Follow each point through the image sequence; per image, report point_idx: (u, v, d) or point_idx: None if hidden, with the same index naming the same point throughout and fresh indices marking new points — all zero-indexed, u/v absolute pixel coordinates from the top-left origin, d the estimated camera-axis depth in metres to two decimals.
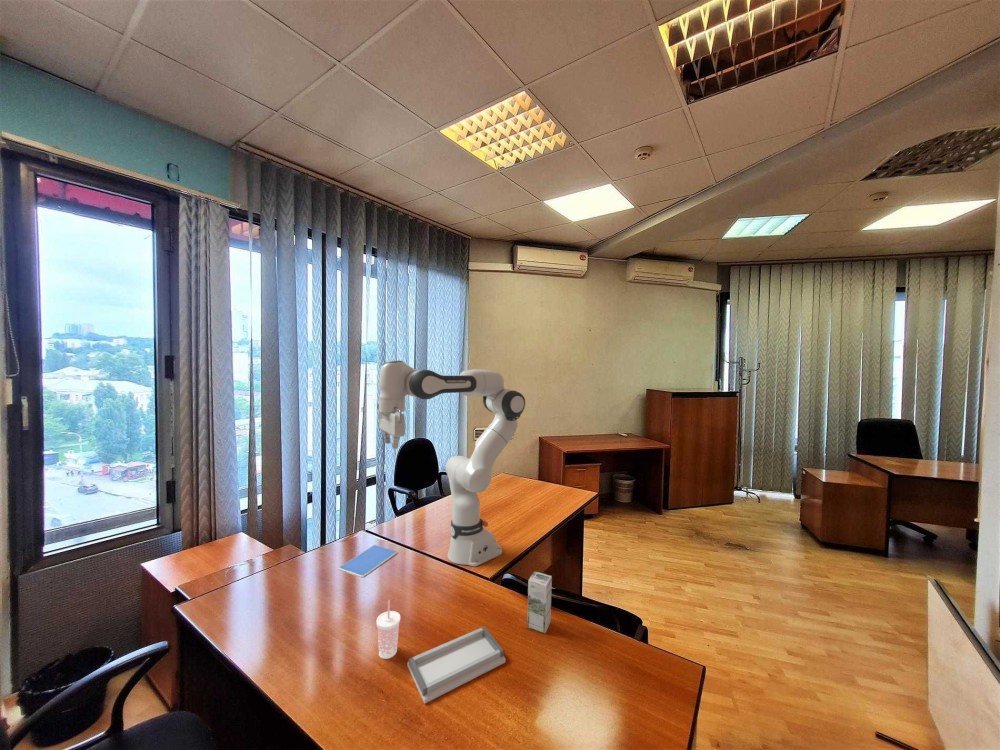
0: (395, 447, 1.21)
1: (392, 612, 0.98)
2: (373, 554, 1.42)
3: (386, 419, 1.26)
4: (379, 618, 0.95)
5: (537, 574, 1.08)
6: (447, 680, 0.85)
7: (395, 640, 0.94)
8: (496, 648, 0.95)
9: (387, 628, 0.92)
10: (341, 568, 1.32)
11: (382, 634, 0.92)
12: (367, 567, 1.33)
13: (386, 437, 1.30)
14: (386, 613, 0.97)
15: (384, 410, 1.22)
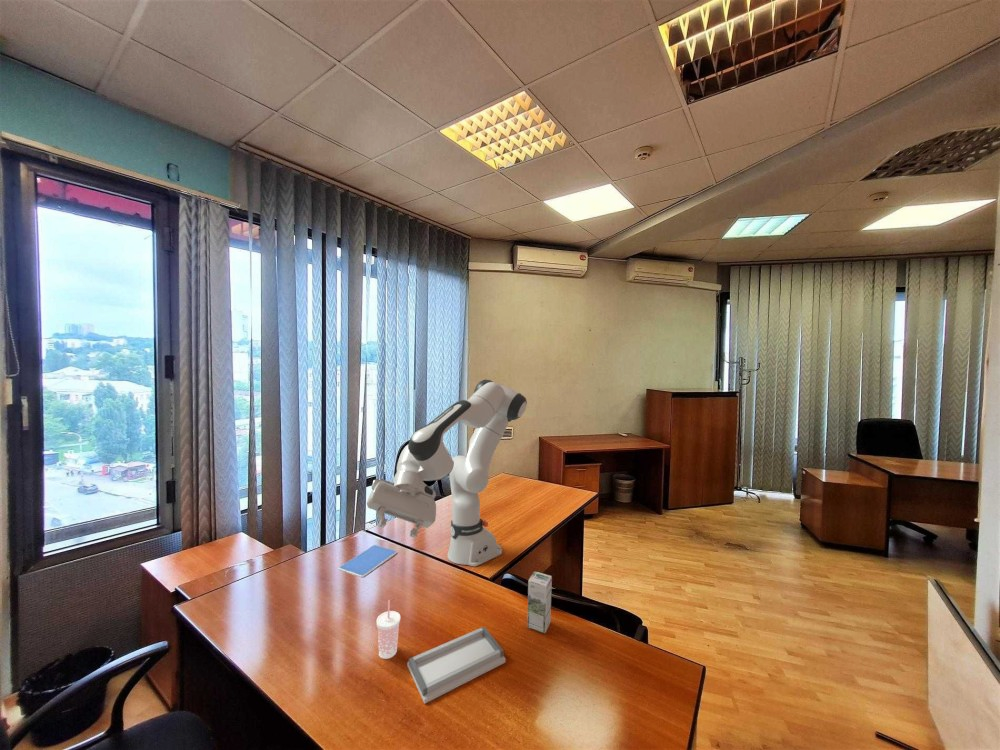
0: (379, 523, 0.96)
1: (392, 612, 0.98)
2: (373, 554, 1.42)
3: None
4: (379, 618, 0.95)
5: (537, 574, 1.08)
6: (447, 680, 0.85)
7: (395, 640, 0.94)
8: (496, 648, 0.95)
9: (387, 628, 0.92)
10: (341, 568, 1.32)
11: (382, 634, 0.92)
12: (367, 567, 1.33)
13: None
14: (386, 613, 0.97)
15: None
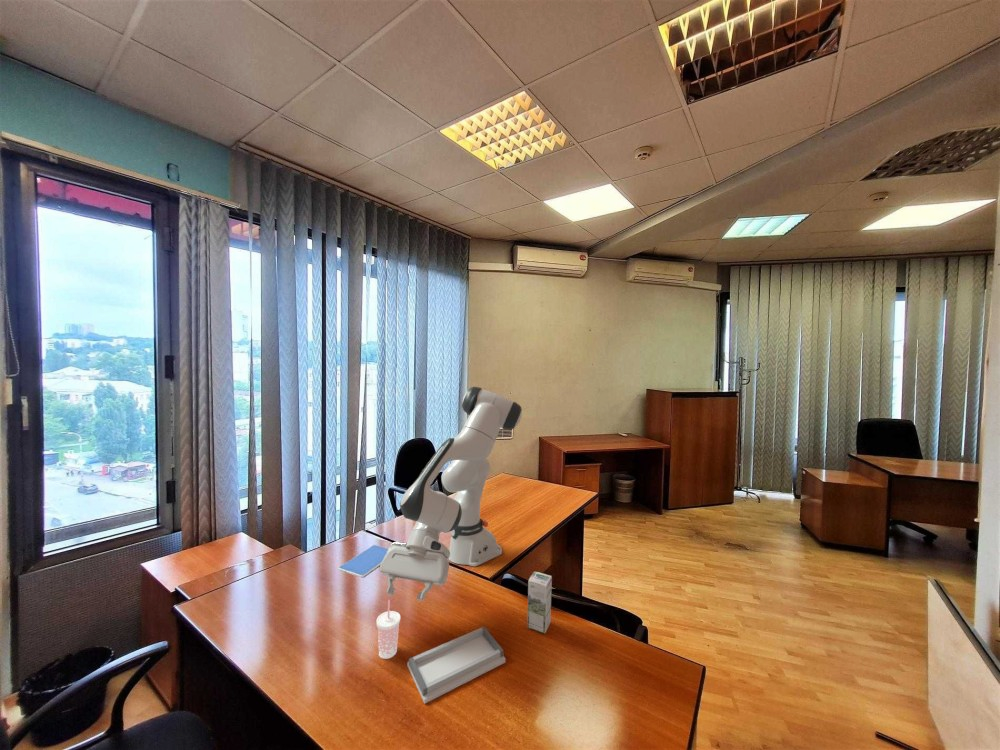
0: None
1: (392, 612, 0.98)
2: (373, 554, 1.42)
3: None
4: (379, 618, 0.95)
5: (537, 574, 1.08)
6: (447, 680, 0.85)
7: (395, 640, 0.94)
8: (496, 648, 0.95)
9: (387, 628, 0.92)
10: (341, 568, 1.32)
11: (382, 634, 0.92)
12: (367, 567, 1.33)
13: None
14: (386, 613, 0.97)
15: None
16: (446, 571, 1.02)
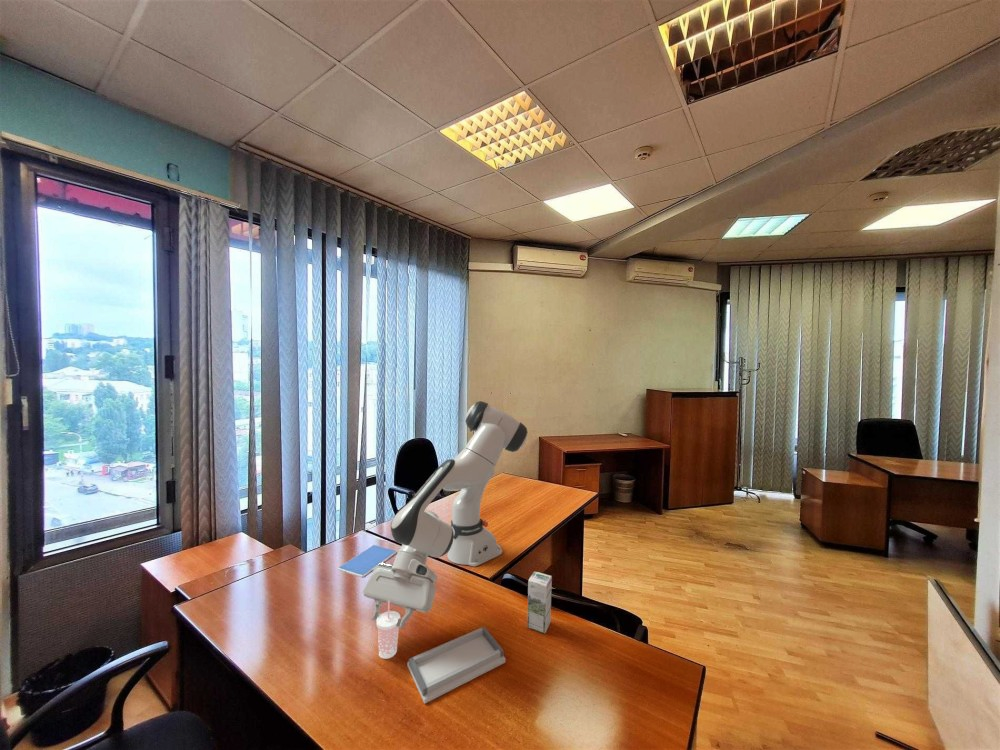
0: None
1: (392, 612, 0.98)
2: (372, 554, 1.42)
3: None
4: (379, 618, 0.95)
5: (537, 574, 1.08)
6: (447, 680, 0.85)
7: (395, 640, 0.94)
8: (496, 648, 0.95)
9: (387, 628, 0.92)
10: (341, 568, 1.32)
11: (382, 634, 0.92)
12: (367, 567, 1.33)
13: None
14: (386, 613, 0.97)
15: None
16: (432, 597, 0.97)
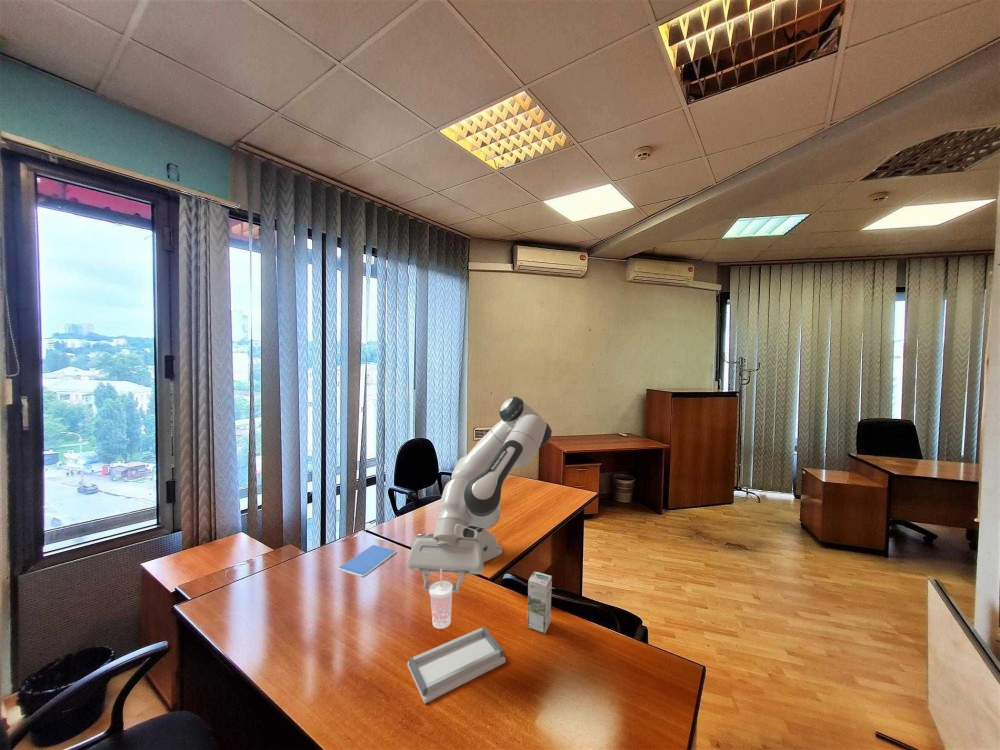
0: None
1: (441, 581, 0.94)
2: (372, 554, 1.42)
3: None
4: (431, 588, 0.91)
5: (537, 574, 1.08)
6: (447, 680, 0.85)
7: (450, 608, 0.91)
8: (496, 648, 0.95)
9: (444, 595, 0.89)
10: (341, 568, 1.32)
11: (438, 603, 0.89)
12: (367, 567, 1.33)
13: None
14: (436, 583, 0.93)
15: None
16: (482, 558, 0.96)
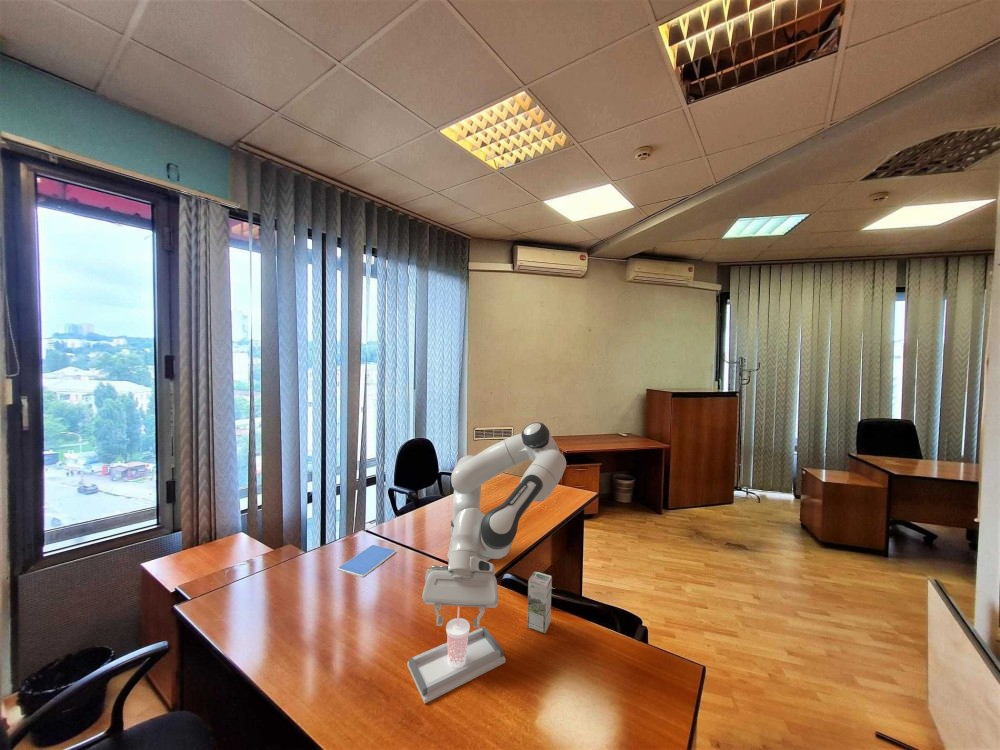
0: None
1: (457, 619, 0.94)
2: (372, 554, 1.42)
3: None
4: (448, 628, 0.91)
5: (537, 574, 1.08)
6: (447, 680, 0.85)
7: (466, 647, 0.91)
8: (496, 648, 0.95)
9: (462, 635, 0.89)
10: (340, 568, 1.32)
11: (456, 643, 0.89)
12: (367, 567, 1.33)
13: None
14: (452, 621, 0.93)
15: None
16: None
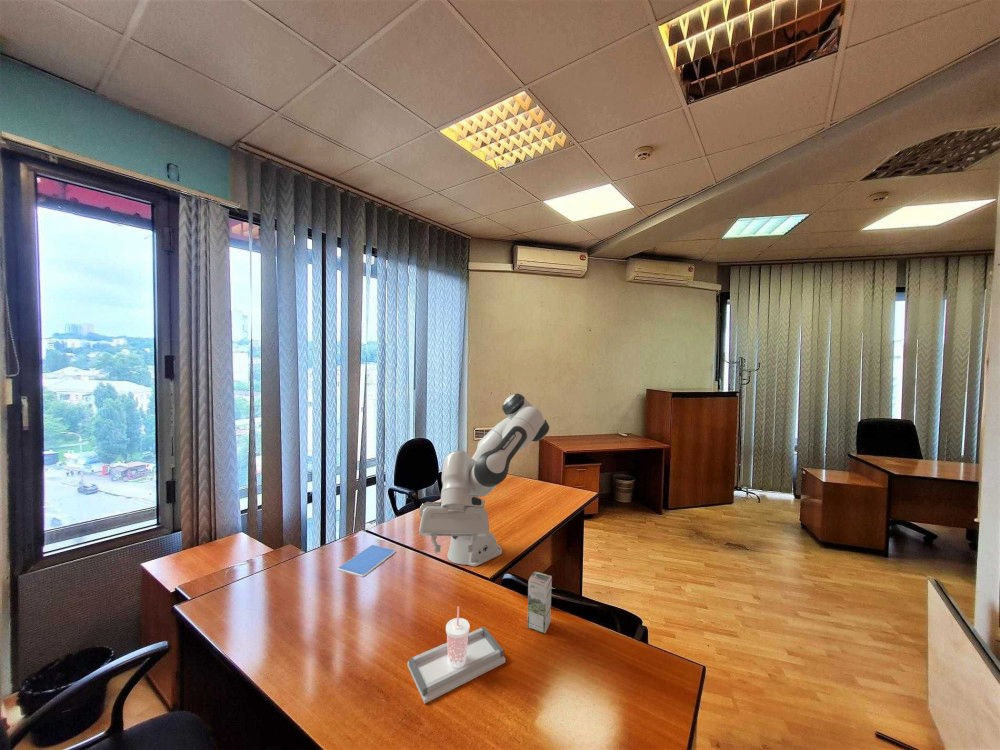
0: (434, 551, 0.99)
1: (456, 619, 0.94)
2: (371, 554, 1.42)
3: None
4: (448, 627, 0.91)
5: (537, 574, 1.08)
6: (447, 680, 0.85)
7: (466, 647, 0.91)
8: (496, 648, 0.95)
9: (462, 635, 0.89)
10: (340, 568, 1.32)
11: (456, 643, 0.89)
12: (367, 567, 1.33)
13: (471, 544, 1.03)
14: (451, 621, 0.93)
15: None
16: None
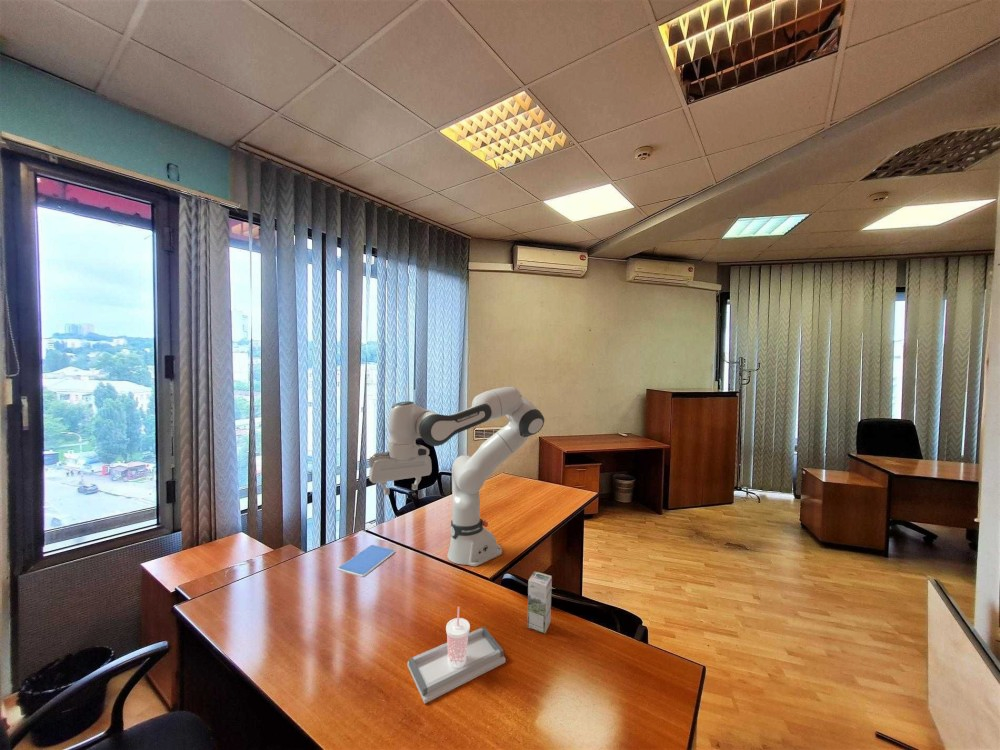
0: (384, 493, 1.16)
1: (457, 619, 0.94)
2: (371, 554, 1.42)
3: None
4: (448, 628, 0.91)
5: (537, 574, 1.08)
6: (447, 680, 0.85)
7: (466, 647, 0.91)
8: (496, 648, 0.95)
9: (462, 635, 0.89)
10: (340, 568, 1.32)
11: (456, 643, 0.89)
12: (367, 567, 1.33)
13: (415, 482, 1.22)
14: (452, 621, 0.93)
15: None
16: None
